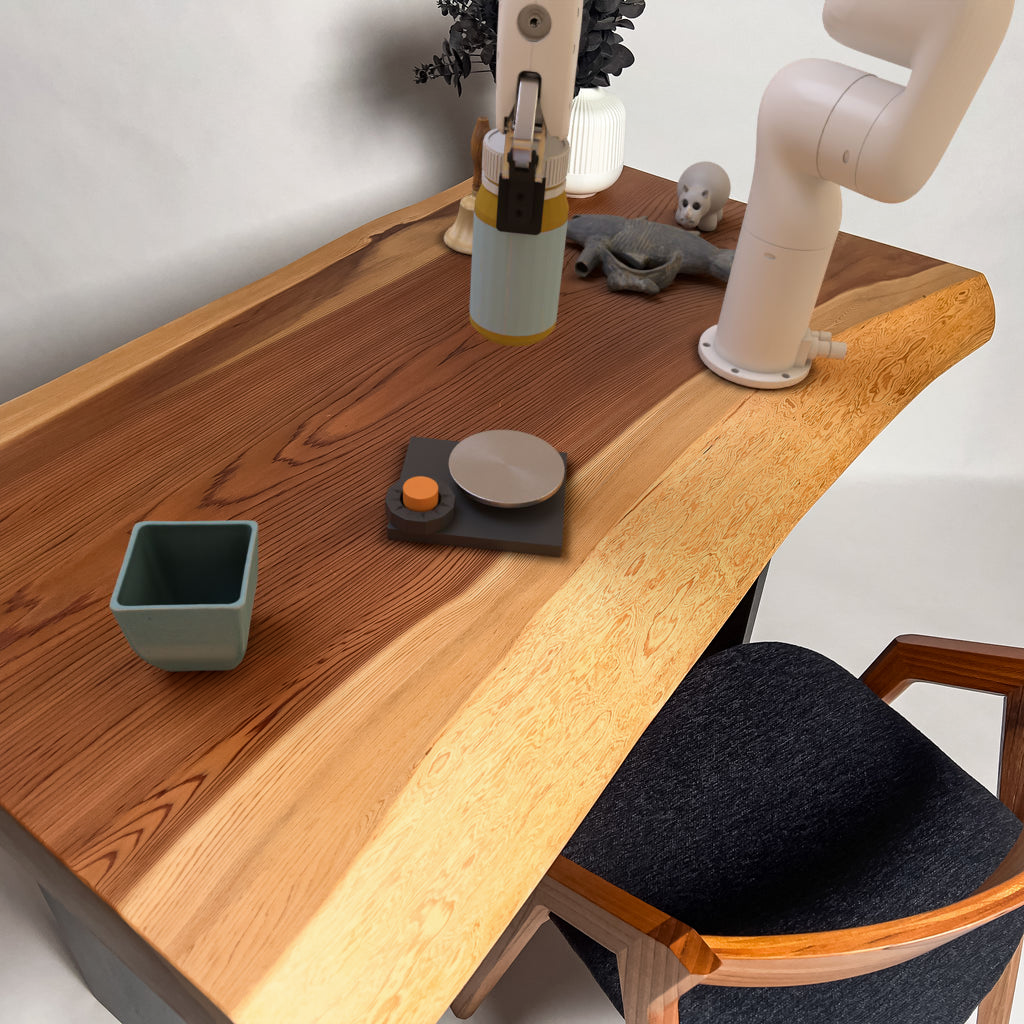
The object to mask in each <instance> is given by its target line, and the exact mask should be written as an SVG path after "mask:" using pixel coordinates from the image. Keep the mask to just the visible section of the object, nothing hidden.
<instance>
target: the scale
mask: <svg viewBox="0 0 1024 1024" xmlns="http://www.w3.org/2000/svg"><path fill="white" fill-rule="evenodd" d="M460 442H461V441H458V440H450V439H439V438H431V437H430V438H429V437H422V436H410V437H409V442H408V446H407V449H406V450H407V451H406V453H405V457H404V461H403V464H402V468H401V472H400V476H399V479H398V480H397V481H396V482H395V483H393V484H392V485H391V486H389V487H388V489H387V491H386V495H385V499H384V513H385V516H386V518H387V519H388V523H387V527H386V539H387V540H391V541H401V542H408V543H409V542H410V543H412V542H413V543H418V544H420V543H421V544H428V545H429V544H431V545H439V546H449V547H457V548H458V547H459V548H468V549H477V550H486V551H495V552H504V553H505V552H506V553H515V554H527V555H535V556H544V557H553V558H561V557H562V550H563V539H564V538H563V537H564V523H565V522H564V521H565V504H566V503H565V502H566V487H567V486H566V485H567V484H566V483H567V465H568V452H564V451H557V452H558V453H559V455H560V456H561V458H562V460H563V463H564V469H565V472H564V478H563V482H562V485H561V486H560V488H559V489H558V490H557V491H556V493H555V494H553V495H552V496H551V497H550V498H548V499H546V500H545V501H542V502H540V503H538V504H534V505H531V506H526V507H519V508H502V507H495V506H490V505H486V504H483V503H480V502H478V501H475V500H473V499H471V498H470V497H468V496H466V495H465V494H464V493H462V492H461V491H460V490H459V489H458V488H457V487H456V486H455V485H454V483H453V482H452V480H451V478H450V475H449V470H448V463H449V457H450V454H451V452H452V451H453V449H454V448H455V447H456V445H458V444H459V443H460ZM418 476H423V477H428V478H431V479H432V480H434V481H435V482H436V483H437V485H438V504H437V506H436V507H435V508H434V509H432V510H430V511H426V512H416V511H411V510H409V509H407V508H406V507H405V505H404V503H403V485H404V483H405V482H406V481H407V480H408V479H410V478H413V477H418Z"/></svg>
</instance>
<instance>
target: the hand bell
mask: <svg viewBox="0 0 1024 1024" xmlns="http://www.w3.org/2000/svg"><path fill="white" fill-rule="evenodd" d="M475 123H476V124H475V126H474V128H473V131H472V134H471V137H470V138H471V139H470V155H471V160H472V165H473V174H472V175H473V176H472V185H471V194H469V195H466V196H463V197H462V198H461V199H460V203H459V209H458V213H457V216H456V219H455V221H454V223H453V224H452V226H450V227H449V228H448V229H447V230H446V231H445V233H444V235H443V242H444V243H445V245H446V246H447V247H448V248H450V249H451V250H453V251H455V252H458V253H459V254H460V253H461V254H464V255H470V256H472V243H473V221H474V206H475V199H476V196H477V193H478V191H479V189H480V186H481V184H482V170H483V169H482V153H483V140H484V137H485V135H486V134H487V133H488V132H489V131H491V130H492V129H491V126H490V121H489V117H488V116H485V115H481V116H480V115H479V116H478V117H477V119H476V122H475Z"/></svg>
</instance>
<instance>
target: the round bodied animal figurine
mask: <svg viewBox="0 0 1024 1024" xmlns="http://www.w3.org/2000/svg"><path fill="white" fill-rule="evenodd" d="M676 185H677V186H676V196H677V201H678V203H677V205H678V208H677V210H676V212H675V215H674V219H675V220H674V221H675V222H676V223H677V224H679V225H681V227H683V228H685V229H694V228H696V227H697V228H698V229H699V230H701V231H702V232H712V231H714V230H716V229H717V226H718V223H719V222H720V221H721V220H722V219H723V216H724V215H723V214H724V207H725V206H726V204H727V203H728V201H729V199H730V196H731V191H732V187H731V180H730V177H729V175H728V173H727V171H726V170H725V169H724V168H723V167H722V166H721V165H719V164H717V163H716V162H712V161H705V160H704V161H698V162H695V163H693V164H691V165H689V166H688V167H687V168H686V169H685V170H684V171H683V172H682V173H681V175H680V177H679V179H678V181H677V184H676Z"/></svg>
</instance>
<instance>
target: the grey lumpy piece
mask: <svg viewBox="0 0 1024 1024" xmlns="http://www.w3.org/2000/svg"><path fill="white" fill-rule="evenodd" d="M648 219H649V218H648V216H647V215H641V216H639V217H635V218H626V217H624V216H622V215H614V214H613V215H612V214H593V213H592V214H590V213H581V214H579V213H576V214H574V215H572V216H571V219H568V223H567V231H566V240H569V241H572V242H574V243H576V244H578V245H580V246H581V247H582V248H584V249H582V251H581V253H580V255H579V256H578V258H577V259H576V261H575V262H574V264H573V271H574V272H575V274H576V275H577V276H580V277H582V278H583V277H584V278H585V277H587V276H588V275H589V274H590V273H591V272H592V271H593V270H595V269H596V268H597V267H598V268H600V270H601V272H603V274H604V275H605V276H606V277H607V278H606V286H607V287H606V288H608V290H609V291H612V292H617V291H623V290H627V291H633V292H639V293H641V292H643V293H645V294H647V295H650V296H653V295H657V294H660V291H662V290H664V289H666V288H668V286H670V285H671V284H672V282H673V281H674V279H675V278H676V276H677V274H687V275H700V274H701V275H702V274H707V275H710V276H712V277H713V278H715V279H718V280H720V281H721V282H724V283H726V284H728V280H729V276H730V272H731V268H732V264H733V260H734V256H735V252H736V249H729V248H719V247H717V246H715V245H713V244H712V243H710V242H709V241H707V240H706V239H704V238H702V237H700V236H701V232H700V231H699V230H686V229H683V228H680V227H677V226H674V225H671V224H666V223H660V222H657V221H651V220H648ZM623 262H624V263H627V264H630V265H631V266H633V267H634V268H632V267H629V266H628V265H626V264H624V263H623ZM644 268H646V270H645V269H644ZM643 269H644V270H643Z"/></svg>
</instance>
